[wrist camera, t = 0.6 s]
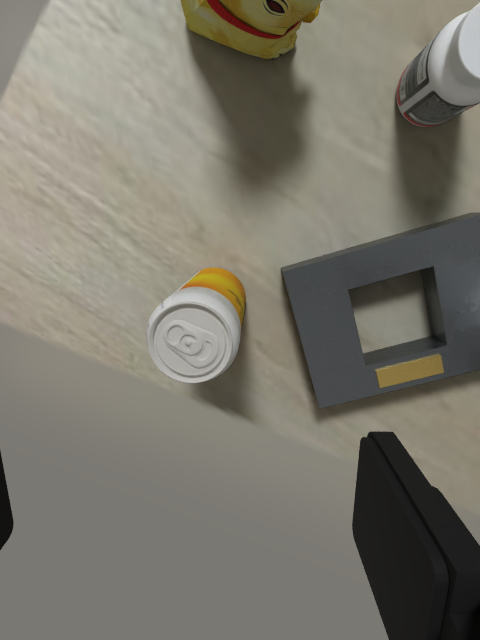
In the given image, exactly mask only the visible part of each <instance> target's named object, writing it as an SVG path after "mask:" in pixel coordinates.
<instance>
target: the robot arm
mask: <svg viewBox="0 0 480 640" xmlns="http://www.w3.org/2000/svg"><path fill="white" fill-rule="evenodd" d="M352 526H353V536H354V540H355V543H356V546H357V549H358V552H359V555H360V557H361V560H362V563H363V566H364V569H365V572H366V575H367V578H368V580H369V583H370V586H371V589H372V592H373V595H374V598H375V600H376V604H377V606H378V609H379V612H380V615H381V618H382V621H383V624H384V627H385V629H386V632H387V635H388V638H389V640H480V546H479V544H478V543H477V541H476V540H475V539H474V537H473V536H472V535H471V533H470V532H469V531H468V529H467V528H466V526H465V525H464V523H463V522H462V521H461V519H460V518H459V517H458V515H457V514H456V513H455V511H454V510H453V508H452V507H451V505H450V504H449V503H448V501H447V500H446V499H445V497H444V496H443V494H442V493H441V492H440V491H439V490H438V489H437V488H435V487H433V486H431V485H430V483H429V482H428V481H427V479H426V478H425V476H424V475H423V473H422V472H421V471H420V469H419V468H418V466H417V465H416V463H415V462H414V461H413V459H412V458H411V456H410V455H409V454H408V452H407V451H406V449H405V448H404V446H403V445H402V444H401V442H400V441H399V439H398V438H397V436H396V435H395V434H394V433H393V432H369V433H368V436H367V437H362V438H361V441H360V450H359V460H358V471H357V482H356V491H355V502H354V512H353V524H352ZM12 529H13V517H12V511H11V506H10V500H9V496H8V490H7V485H6V480H5V474H4V469H3V463H2V457H1V452H0V550H1V548H2V547H3V546H4V544H5V543H6V541H7V540H8V539H9V537H10V535H11V533H12Z"/></svg>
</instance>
